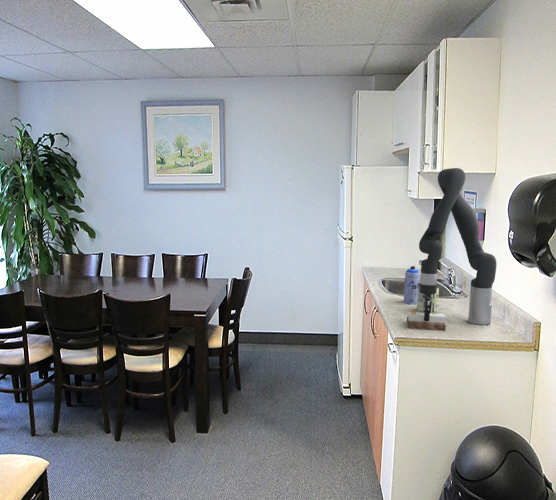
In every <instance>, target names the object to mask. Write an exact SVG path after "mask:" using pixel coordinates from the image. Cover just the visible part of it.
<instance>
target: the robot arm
mask: <svg viewBox="0 0 556 500" xmlns="http://www.w3.org/2000/svg"><path fill="white" fill-rule="evenodd" d="M465 182H466V173H465V171H464V170H463V169H462V168H459V167H455V168H454V167H452V168H444V169H442V170H440V171H439V173H438V175H437V183H438V185H439V188H440V190H441V193H442V194H443V196H442V198H441V199H440V201H439V203H438V204H437V205H436V207H435V209H434V210H433V212H432V214H431V216H430V220H429V223H428V227H427V228H426V230H425V232H424V233H423V235H422V236H421V238H420V240H419V242H418V248H419V251H420V252H421V253H423V254H426V255H427V258H426V259H425V258H424V259H423V260H421V263H420V278H419V283H420V284H419V292H420V293H422V294H423V297H422V299H423V309H424V310H423V313H424V321H429V317H430V313H431V307H432V296H431V295H432V294H436V291H437V284H438V265H439V261H440V259H441V257H442V254H443V244H442V242H441V241H440V240H438V239H437V237H438V236H441V235H443V234H444V232H445V229H446V226H447V222H448V221H449V216H450V214H451V215H452V217H453V219H454V223H455V225H456V228H457V230H458V233H459V234H460V238H461V240H462V243H463V245H464V248H465V252H466V256H467V259H468V260H467V261H468V263H469V266H470V267H471V269H473V270H475V271H476V276H475V278H472V279H471V281H470V290H469V303H468V314H467V315H468V317H467V322H469V323H470V324H473V325H479V326H486V325H487V326H488V325H491V321H492V307H493V305H492V294H493V293H492V292H493V284H494V283H495V280H496V273H497V265H498V264H497V263H498V262H497V259H496V256H495V255H493V254H491V253H488V252H485V251H484V249H483V247H482V245H481V242H480V238H479V237H480V225H479V224H480V223H479V220H478V218H477V215H476V212H475V210H474V208H472V207H471V204H469V203H468V201H467V200H466V199H465V197H464V196H463V195H462V194H461V191H462V190H463V187H464V185H465Z"/></svg>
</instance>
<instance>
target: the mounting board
mask: <svg viewBox="0 0 556 500" xmlns="http://www.w3.org/2000/svg"><path fill="white" fill-rule="evenodd" d="M406 324H408V325H407V329H414V328H415V330H418V329H419V330H429V331H430V330H431V331H443V332H445V331H446V328H447V326H446V323H432V322H418V321H409V320H408V315H407V317H406Z"/></svg>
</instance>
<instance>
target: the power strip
mask: <svg viewBox="0 0 556 500" xmlns="http://www.w3.org/2000/svg"><path fill="white" fill-rule="evenodd" d="M407 316H408V320H409V321H418V322H432V323H445V324H446V321H447V317H446V314H443V313H442V314H441V313H435V314H430V317H429V321H424V313H420V312H417V311H408V314H407Z"/></svg>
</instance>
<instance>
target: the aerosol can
mask: <svg viewBox="0 0 556 500" xmlns="http://www.w3.org/2000/svg"><path fill="white" fill-rule="evenodd" d="M420 274H421V271H419V270H418V269H417V268H416V265H415V266H414V265H413V266H410V268H408V269H407V270H406V271H405V273H404V291H403V293H404V294H403V295H404V296H403V303H404V304H405V305H411V306H412V305H413V306H414V305H416V306H417V298H418V283H420Z"/></svg>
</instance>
